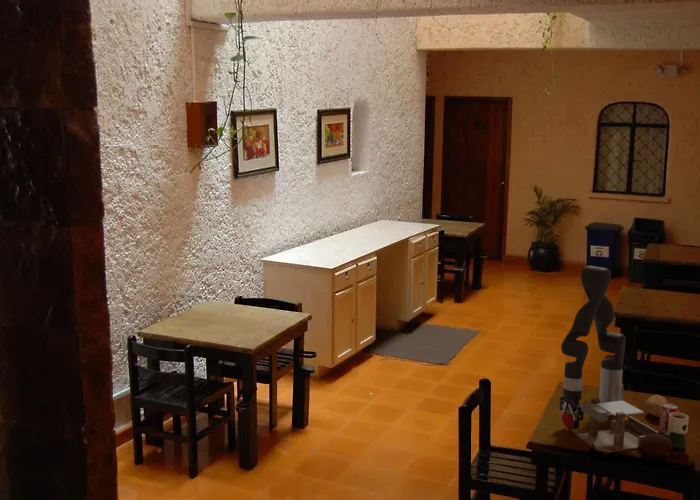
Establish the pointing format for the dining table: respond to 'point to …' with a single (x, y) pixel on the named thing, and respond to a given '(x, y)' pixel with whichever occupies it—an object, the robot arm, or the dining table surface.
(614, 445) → the stand
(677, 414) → the character mug
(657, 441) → the potato
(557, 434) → the dining table surface
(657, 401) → the potato
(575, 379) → the robot arm
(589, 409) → the trapdoor
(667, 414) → the soda can
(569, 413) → the strawberry
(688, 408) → the dining table surface
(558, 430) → the dining table surface
